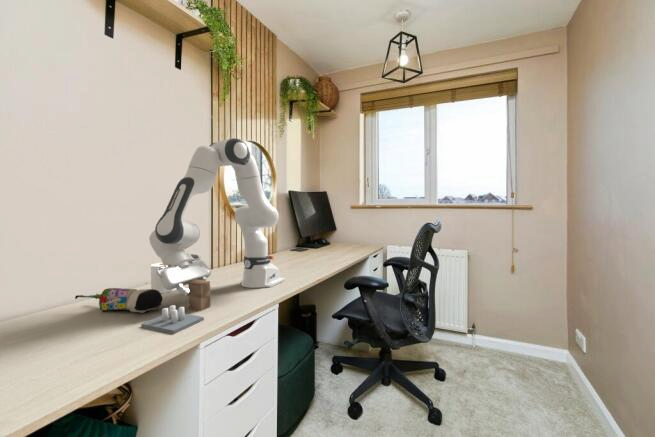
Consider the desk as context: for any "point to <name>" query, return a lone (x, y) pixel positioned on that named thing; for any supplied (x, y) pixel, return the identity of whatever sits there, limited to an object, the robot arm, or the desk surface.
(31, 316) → the desk surface
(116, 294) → the toy
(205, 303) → the block
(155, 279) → the toilet paper
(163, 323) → the stand
